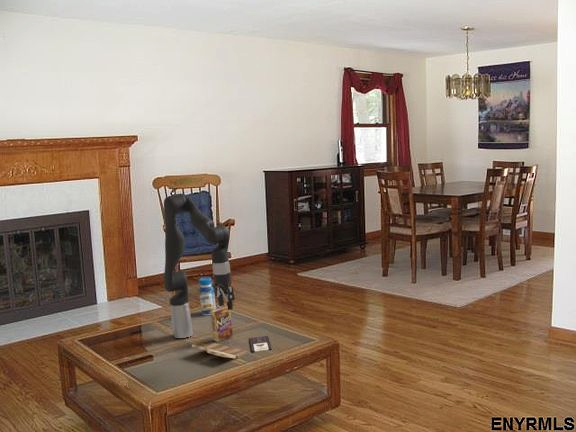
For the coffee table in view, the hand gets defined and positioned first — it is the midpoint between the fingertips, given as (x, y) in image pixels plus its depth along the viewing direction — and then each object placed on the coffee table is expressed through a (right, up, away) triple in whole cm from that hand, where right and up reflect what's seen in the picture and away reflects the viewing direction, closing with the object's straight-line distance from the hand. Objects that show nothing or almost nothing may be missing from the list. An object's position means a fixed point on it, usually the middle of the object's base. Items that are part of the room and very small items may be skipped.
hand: (225, 307), depth 260 cm
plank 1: (-10, -21, +8) cm, 24 cm away
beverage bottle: (-17, -15, +72) cm, 75 cm away
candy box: (-4, -20, +28) cm, 34 cm away
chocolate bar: (+15, -20, +15) cm, 29 cm away
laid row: (-1, -22, +10) cm, 24 cm away
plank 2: (-2, -21, 0) cm, 21 cm away
